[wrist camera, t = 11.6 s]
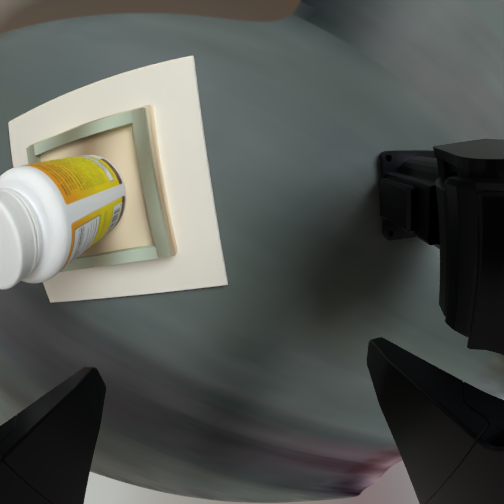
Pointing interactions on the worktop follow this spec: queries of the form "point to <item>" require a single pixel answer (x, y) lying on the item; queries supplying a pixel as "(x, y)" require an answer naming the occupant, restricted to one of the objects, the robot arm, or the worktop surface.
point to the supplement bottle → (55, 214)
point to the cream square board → (174, 172)
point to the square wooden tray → (135, 180)
